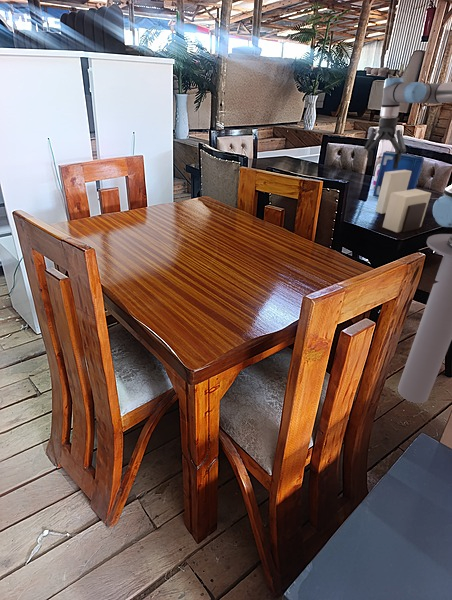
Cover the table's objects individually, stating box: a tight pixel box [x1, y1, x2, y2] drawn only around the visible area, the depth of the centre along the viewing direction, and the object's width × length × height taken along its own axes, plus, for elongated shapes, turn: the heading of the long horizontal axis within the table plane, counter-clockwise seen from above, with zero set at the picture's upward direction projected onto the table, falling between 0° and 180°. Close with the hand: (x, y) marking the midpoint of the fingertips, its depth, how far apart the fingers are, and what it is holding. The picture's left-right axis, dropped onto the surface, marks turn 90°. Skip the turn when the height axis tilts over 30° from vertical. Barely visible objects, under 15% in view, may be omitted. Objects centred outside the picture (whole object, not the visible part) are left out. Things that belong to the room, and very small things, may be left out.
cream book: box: [375, 170, 412, 215], centre depth 203 cm, size 4×16×20 cm, turn 123°
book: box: [372, 150, 425, 198], centre depth 223 cm, size 22×7×25 cm, turn 58°
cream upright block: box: [382, 188, 432, 233], centre depth 182 cm, size 9×18×16 cm, turn 122°
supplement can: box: [371, 163, 381, 191], centre depth 243 cm, size 8×8×15 cm
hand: (381, 167), depth 188 cm, fingers open, 13 cm apart
